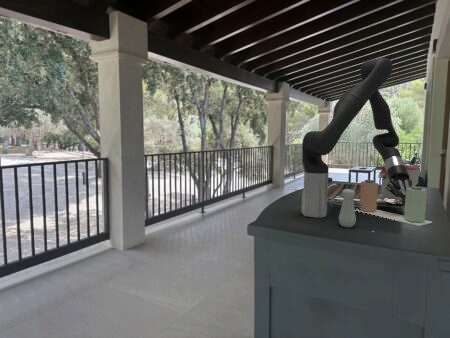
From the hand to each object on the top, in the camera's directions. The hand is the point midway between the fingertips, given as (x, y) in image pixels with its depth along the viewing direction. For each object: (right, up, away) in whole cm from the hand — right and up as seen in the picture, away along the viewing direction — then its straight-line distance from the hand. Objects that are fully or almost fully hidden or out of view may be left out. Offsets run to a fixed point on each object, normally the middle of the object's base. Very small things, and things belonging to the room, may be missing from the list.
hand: (408, 205), depth 131 cm
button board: (-5, -5, +4) cm, 8 cm away
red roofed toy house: (+10, -2, +30) cm, 32 cm away
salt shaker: (-27, -6, -10) cm, 30 cm away
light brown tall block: (-11, -4, +12) cm, 17 cm away
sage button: (0, -6, -4) cm, 7 cm away
